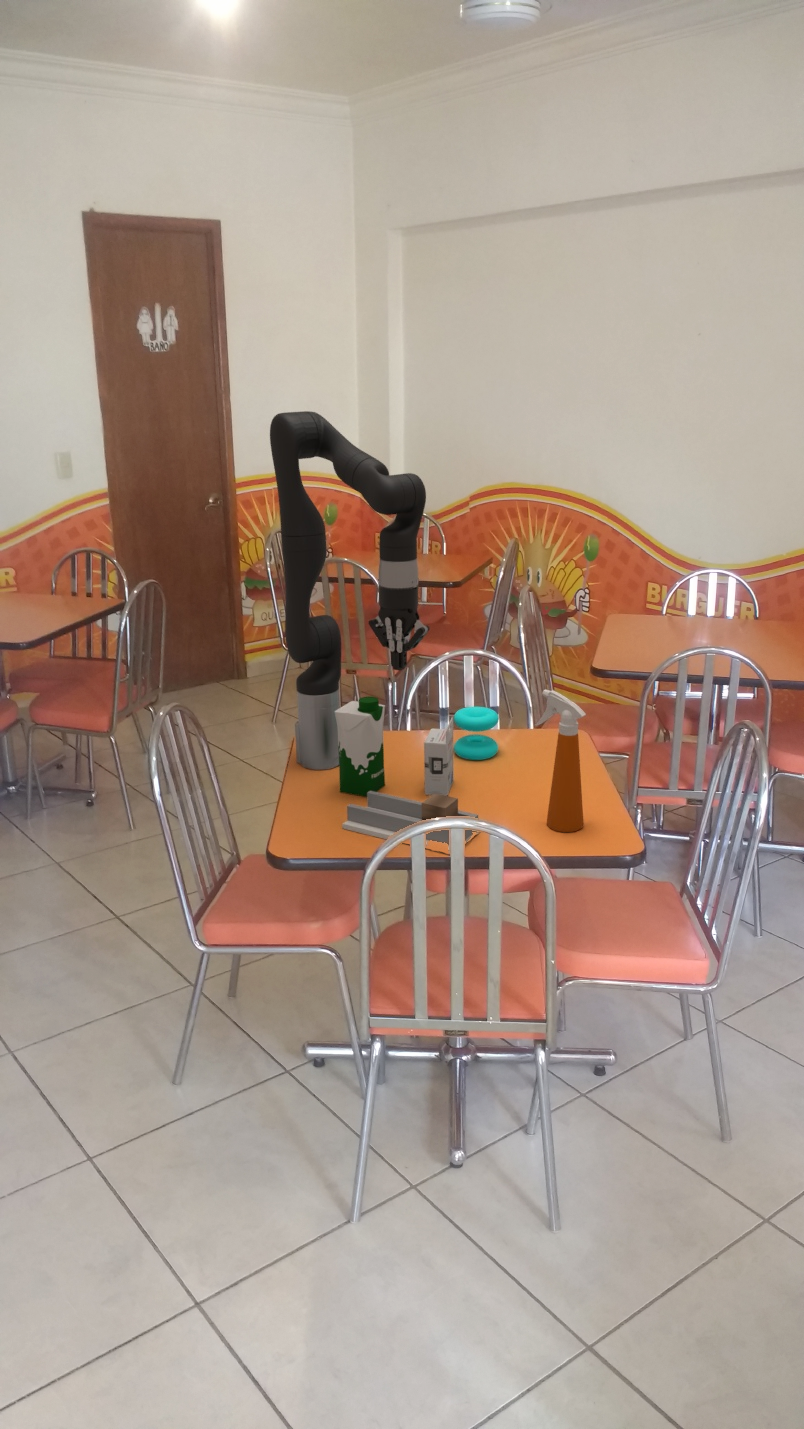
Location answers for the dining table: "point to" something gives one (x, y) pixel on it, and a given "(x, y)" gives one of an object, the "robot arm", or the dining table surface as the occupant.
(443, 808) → the block
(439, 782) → the ink box
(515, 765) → the dining table surface
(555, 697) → the spray bottle
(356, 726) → the milk carton
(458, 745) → the donuts
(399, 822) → the chute
